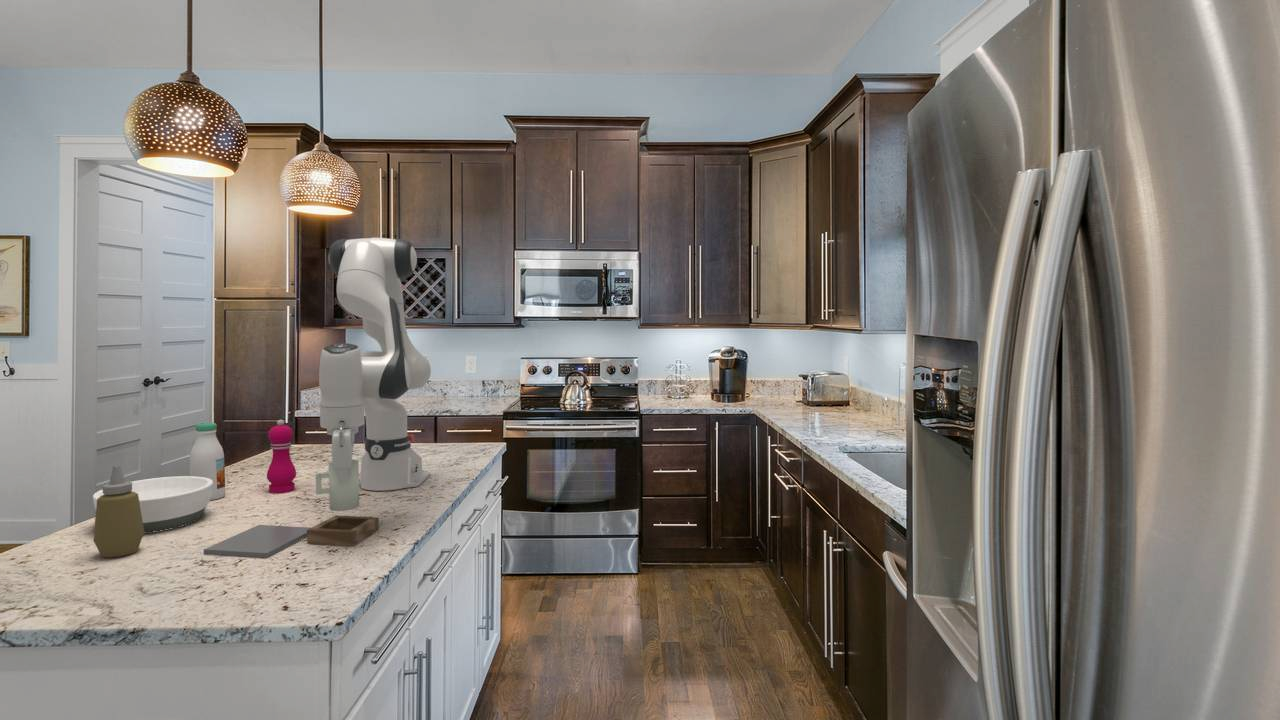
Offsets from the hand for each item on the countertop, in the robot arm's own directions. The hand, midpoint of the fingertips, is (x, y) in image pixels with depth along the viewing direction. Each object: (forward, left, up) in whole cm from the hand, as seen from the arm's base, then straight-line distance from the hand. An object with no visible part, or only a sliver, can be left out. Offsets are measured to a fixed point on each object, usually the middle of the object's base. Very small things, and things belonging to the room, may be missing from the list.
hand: (344, 479), depth 141 cm
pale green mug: (+1, -1, -6) cm, 6 cm away
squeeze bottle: (+16, -39, -13) cm, 44 cm away
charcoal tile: (+6, -15, -13) cm, 21 cm away
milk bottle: (-23, -53, -13) cm, 59 cm away
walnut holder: (0, 0, -13) cm, 13 cm away
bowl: (-3, -49, -13) cm, 51 cm away
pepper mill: (-33, -39, -13) cm, 53 cm away
